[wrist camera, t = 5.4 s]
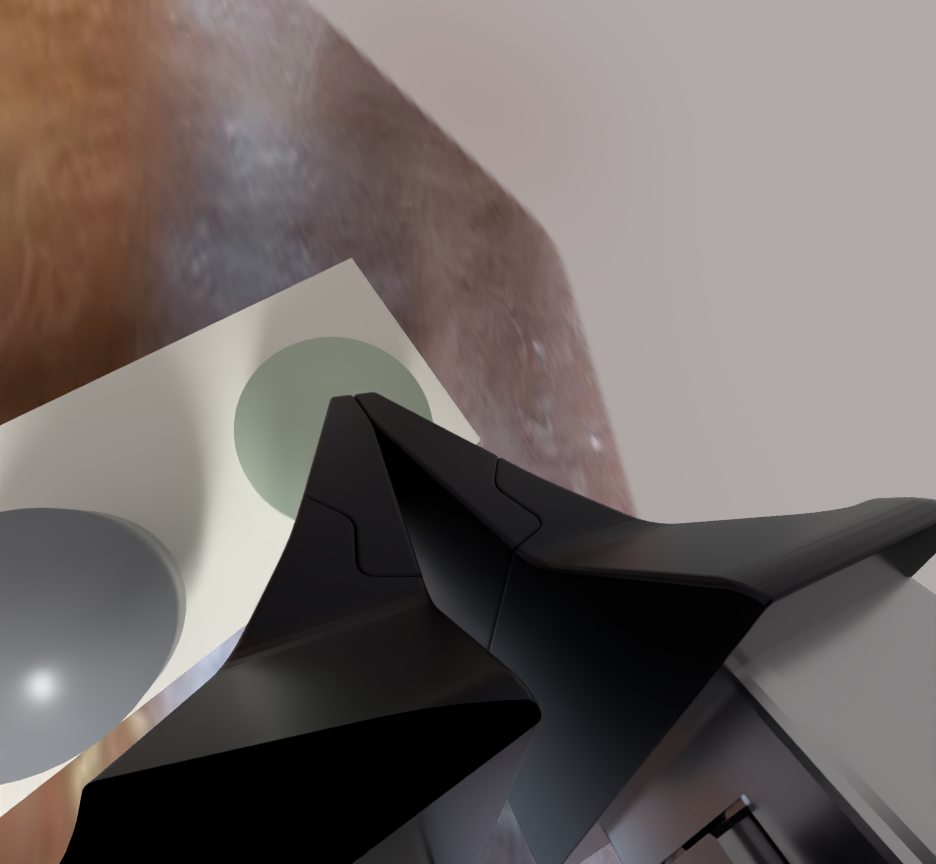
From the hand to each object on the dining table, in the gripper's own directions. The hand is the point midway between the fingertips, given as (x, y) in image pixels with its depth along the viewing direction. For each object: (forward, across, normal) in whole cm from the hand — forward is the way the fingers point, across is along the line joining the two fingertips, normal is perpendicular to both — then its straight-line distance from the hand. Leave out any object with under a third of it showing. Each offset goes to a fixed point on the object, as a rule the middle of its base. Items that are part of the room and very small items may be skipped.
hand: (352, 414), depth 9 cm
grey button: (0, +6, +4) cm, 7 cm away
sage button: (+2, 0, +2) cm, 3 cm away
